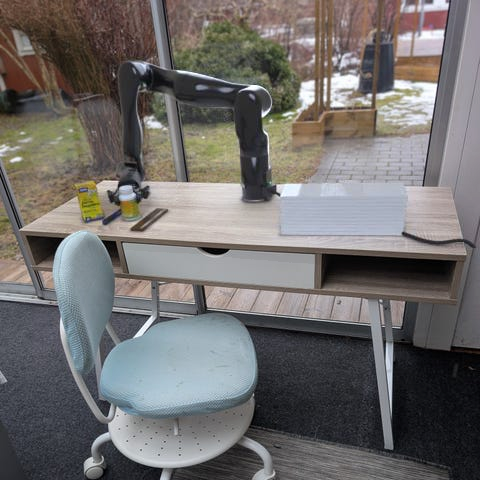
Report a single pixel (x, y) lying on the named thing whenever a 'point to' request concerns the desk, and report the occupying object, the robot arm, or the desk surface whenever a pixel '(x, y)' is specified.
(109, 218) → the pen
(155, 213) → the dark brown flat bar
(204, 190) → the desk surface
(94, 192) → the supplement box
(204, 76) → the robot arm
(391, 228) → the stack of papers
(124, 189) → the supplement bottle
